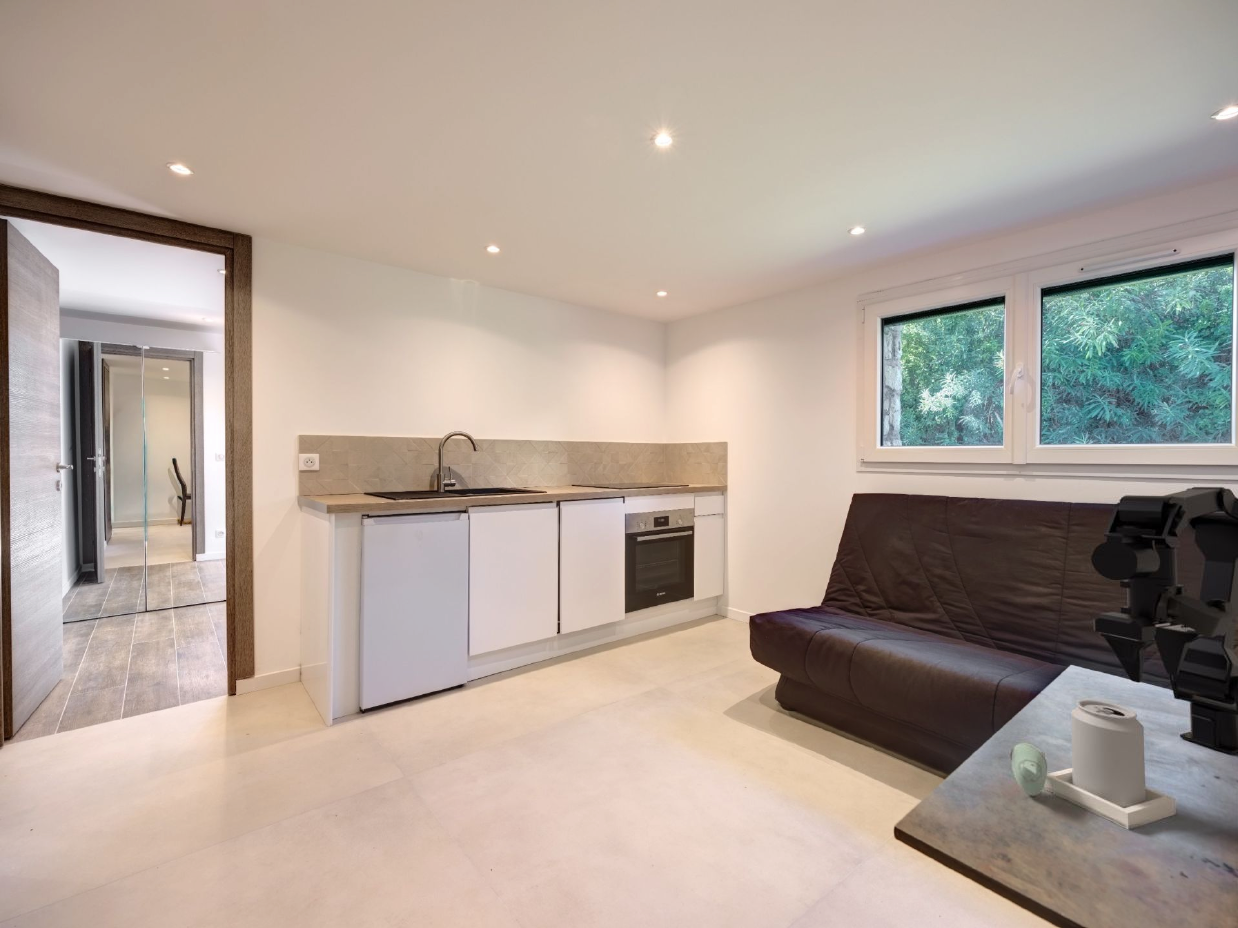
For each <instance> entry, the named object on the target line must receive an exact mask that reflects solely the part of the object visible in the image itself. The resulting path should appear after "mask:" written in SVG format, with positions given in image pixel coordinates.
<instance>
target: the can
mask: <svg viewBox="0 0 1238 928" xmlns="http://www.w3.org/2000/svg"><path fill="white" fill-rule="evenodd" d="M1076 706H1077V707H1076V708H1074V709H1072V710H1071V711H1070V719H1071V721H1070V724H1071V725H1070V726H1071V729H1070V730H1071V765H1072V767H1071V768H1072V776H1073V784H1074V785H1075V786H1076V787H1078V788H1080V789H1083V790H1085V791H1087V792H1089V793H1091V794H1093V795H1096V796H1098V797H1100V798H1102V799H1104V800H1107V801H1109V802H1111V803H1113V804H1115V805H1118V806H1120V807H1122V808H1127V807H1131V806H1134V805H1137V804H1141V803H1144V802H1146V795H1145V786H1146V769H1145V766H1146V763H1145V735H1144V734H1145V733H1144V732H1145V729H1144V728H1145V727H1144V725H1143V724H1142V723H1141V722H1140V721H1139V720H1138V719H1137V718H1138V715H1137V714H1138V713H1136V712H1135V711H1134V710H1132V709H1130V708H1128V707H1126V706H1123V705H1119V704H1115V703H1112V702H1108V701H1102V700H1095V699H1080V700H1078V701H1077V702H1076Z"/></svg>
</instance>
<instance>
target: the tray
mask: <svg viewBox="0 0 1238 928" xmlns="http://www.w3.org/2000/svg"><path fill="white" fill-rule="evenodd" d="M1044 790H1045V791H1047V790H1048V792H1049V791H1050V793H1051V792H1053V793H1054V795H1055V794H1056V796H1057V795H1058V797H1060V796H1061V797H1060V798H1061V799H1064V800H1066V799H1067V800H1066V801H1068V802H1070V801H1071V802H1070V803H1073V804H1074V805H1076V806H1079V807H1080V806H1081V808H1082V809H1084V810H1086V811H1088V812H1091V813H1092V814H1095V815H1097V816H1099V817H1100V818H1103V819H1105V820H1107V821H1110V822H1111V823H1114V824H1115V825H1118V826H1120V827H1122V828H1124V829H1126V830H1132V829H1134V828H1137V827H1141V826H1144V825H1146V824H1151V823H1154V822H1156V821H1159V820H1162V819H1165V818H1169V817H1171V816H1175V815H1176V798H1175V797H1172V796H1169V795H1168V794H1165V793H1163V792H1160V791H1159V790H1155V789H1152V788H1150V787H1148V786H1146V785H1145V795H1146V802H1144V803H1141V804H1137V805H1134V806H1131V807H1127V808H1122V807H1120V806H1118V805H1115V804H1113V803H1111V802H1109V801H1107V800H1104V799H1102V798H1100V797H1098V796H1096V795H1093V794H1091V793H1089V792H1087V791H1085V790H1083V789H1080V788H1078V787H1076V786H1075V785H1074V784H1073V776H1072V767H1070V768H1065V769H1062V770H1058V771H1054V772H1049V773H1047V775H1046V781H1045V784H1044ZM1053 793H1052V794H1053Z"/></svg>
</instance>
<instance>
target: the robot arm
mask: <svg viewBox="0 0 1238 928" xmlns="http://www.w3.org/2000/svg"><path fill="white" fill-rule="evenodd" d="M1118 501H1119V502H1117V503H1116V505H1115V506H1114V509H1113V511H1112V513H1111V516H1110V519H1109V521H1108V524H1107V527H1106V529H1105V532H1104V534H1103V535H1104V537H1105V539H1106V541H1105V542H1101V543H1100V544H1099V545H1097V546H1096V547H1095V549H1094V550H1093V552H1092V554H1091V555H1090V556H1091V557H1090V559H1091V564H1092V566H1093V568H1094V569H1095V571H1096V572H1097V573H1098V574H1100V576H1102V577H1103V578H1106V579H1108V580H1112V581H1119V585H1120V586H1119V587H1120V588H1123V589H1126V590H1127V591H1126V592H1127V593H1126V595H1127V597H1126V598H1127V599H1126V600H1127V606H1121V607H1120V612H1117V611H1116V612H1115V611H1110V612H1109V611H1108V612H1100V613H1098V614H1096V615H1095V616H1094V617H1092V619H1093V620H1092V622H1093V623H1092V624H1093V625H1092V626H1093V631H1094V632H1097V633H1098V634H1099V636H1100V637H1103V638H1104V639H1105V642H1107V644H1108V645H1109V647H1110V649H1111V650H1112V651H1113V653H1114V654H1115V655H1116V658H1117V659H1118V661H1119V663H1120V665H1121V666H1122V668H1123V669H1124V671H1125V673H1126V675H1127V676H1128V678H1129V680H1130V681H1131V682H1134V683H1142V677H1143V673H1144V663H1145V656H1146V650H1147V649H1148V648H1149V647H1152V646H1153V645H1154V644H1156V648H1157V651H1158V653H1159V655H1160V659H1161V661H1162V665H1163V666H1164V669H1165V671H1166V674H1167V675H1168V676H1169V680H1170V685H1171V689H1172V692H1173V698H1174V699H1175V700H1181V701H1185V702H1188V703H1189V711H1190V712H1189V714H1190V715H1189V716H1190V717H1189V718H1190V719H1189V720H1190V723H1189V724H1190V731H1187V732H1183V733H1180V734H1179V737H1180V738H1181V739H1183V740H1186V741H1190V742H1193V743H1196V744H1199V745H1202V746H1205V747H1208V748H1211V749H1214V750H1216V751H1220V752H1222V753H1226V754H1228V755H1234V754H1238V657H1237V655H1236V653H1235V652H1234V646H1235V639H1236V638H1235V637H1236V631H1237V623H1238V497H1236V496H1235V494H1234V492H1233V491H1232V490H1231V489H1230V488H1225V487H1224V486H1223V487H1222V486H1193V487H1191V488H1190V487H1189V488H1186V490H1182V491H1178V492H1173V493H1169V494H1165V495H1135V494H1134V495H1130V494H1129V495H1124V496H1121V498H1120V499H1119V500H1118ZM1187 527H1188V528H1189V530H1190V531H1191V533H1192V534H1193V542H1194V544H1195V545H1196V547H1197V549H1198V550H1199V552H1200V553H1201V555H1202V556H1203V557H1204V559H1203V567H1202V573H1201V579H1200V588H1199V593H1198V599H1195V598H1192V597H1190V596H1188V588H1187V587H1185V586H1186V585H1185V584H1178V558H1177V557H1178V556H1177V555H1178V554H1177V548H1178V547H1180V546H1181V542H1180V540H1178V539H1177V538H1179V537H1180V535H1181V533H1182V531H1183V530H1185V529H1186V528H1187Z"/></svg>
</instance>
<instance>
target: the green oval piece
mask: <svg viewBox="0 0 1238 928" xmlns="http://www.w3.org/2000/svg"><path fill="white" fill-rule="evenodd" d="M1009 755H1010V765H1011V769H1012V773H1013V774H1014V775H1013V776H1014V777H1015V779H1016V781H1017V783H1018V785H1019V786H1020V788H1021V789H1022V790H1023V791H1024V792H1025V793H1026V794H1027V795H1029V796H1032V797H1033V796H1035V797H1036V796H1037V795H1038V794H1039V795H1040V793H1042V791H1043V790H1044V788H1045V781H1046V775H1047V774H1048V762H1047V759H1046V754H1045V752H1043V751H1041V750H1040V749H1038V748H1037V747H1035V746H1034V745H1033V744H1030V743H1027V742H1020V743H1016V744H1015V745H1014V746H1013V747H1012V749H1011V751H1010V754H1009Z"/></svg>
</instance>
